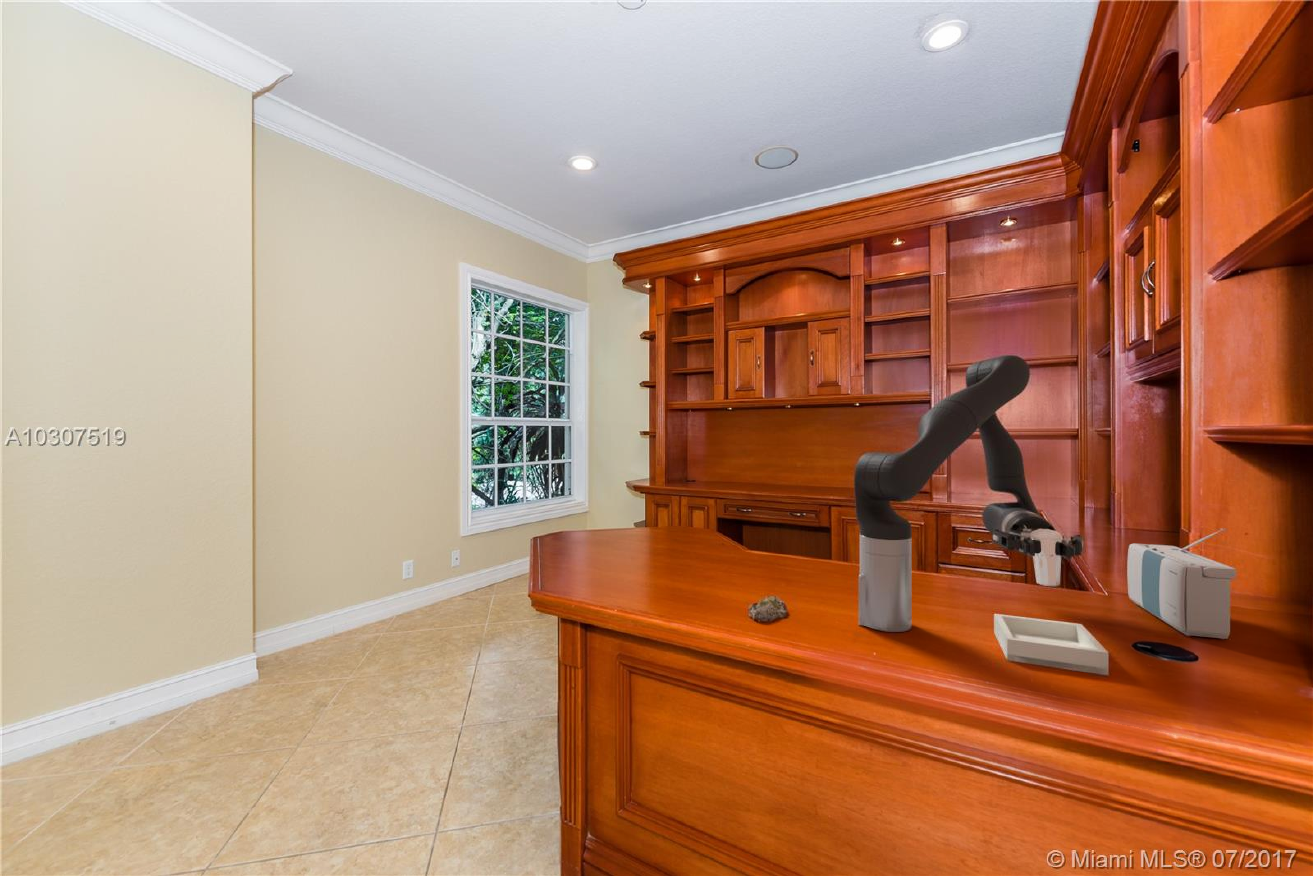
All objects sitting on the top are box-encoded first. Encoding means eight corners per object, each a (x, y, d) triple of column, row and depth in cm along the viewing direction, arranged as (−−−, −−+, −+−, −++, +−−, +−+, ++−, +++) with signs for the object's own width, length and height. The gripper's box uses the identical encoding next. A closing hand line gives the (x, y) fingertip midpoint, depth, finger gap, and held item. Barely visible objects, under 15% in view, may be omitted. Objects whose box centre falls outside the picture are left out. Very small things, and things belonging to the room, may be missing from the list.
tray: (1007, 660, 86) (1007, 639, 86) (994, 632, 98) (994, 613, 98) (1108, 675, 80) (1108, 652, 80) (1081, 644, 92) (1081, 624, 92)
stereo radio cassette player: (1125, 602, 114) (1125, 510, 114) (1173, 606, 111) (1174, 512, 111) (1179, 637, 95) (1180, 527, 95) (1240, 644, 92) (1241, 530, 92)
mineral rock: (754, 593, 115) (789, 589, 111) (760, 613, 115) (795, 609, 110) (735, 609, 106) (772, 605, 102) (741, 631, 105) (778, 627, 101)
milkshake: (1021, 579, 92) (1018, 522, 92) (1057, 579, 90) (1054, 521, 90) (1032, 587, 87) (1029, 527, 87) (1070, 587, 86) (1067, 527, 86)
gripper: (984, 510, 105) (999, 525, 89) (1073, 515, 99) (1106, 531, 83) (984, 548, 105) (999, 569, 89) (1072, 554, 99) (1105, 579, 83)
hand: (1050, 551), depth 86 cm, fingers closed on milkshake, 4 cm apart
